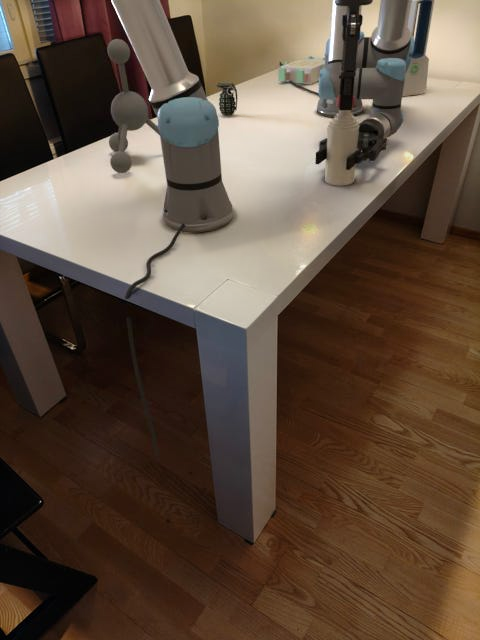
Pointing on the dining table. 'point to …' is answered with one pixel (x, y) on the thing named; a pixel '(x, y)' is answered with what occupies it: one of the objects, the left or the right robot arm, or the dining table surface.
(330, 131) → the bottle
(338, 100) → the cap
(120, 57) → the molecular model
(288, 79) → the decorative block
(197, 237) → the dining table surface
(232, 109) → the grenade
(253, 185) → the dining table surface
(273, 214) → the dining table surface
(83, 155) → the dining table surface
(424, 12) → the electronic device
